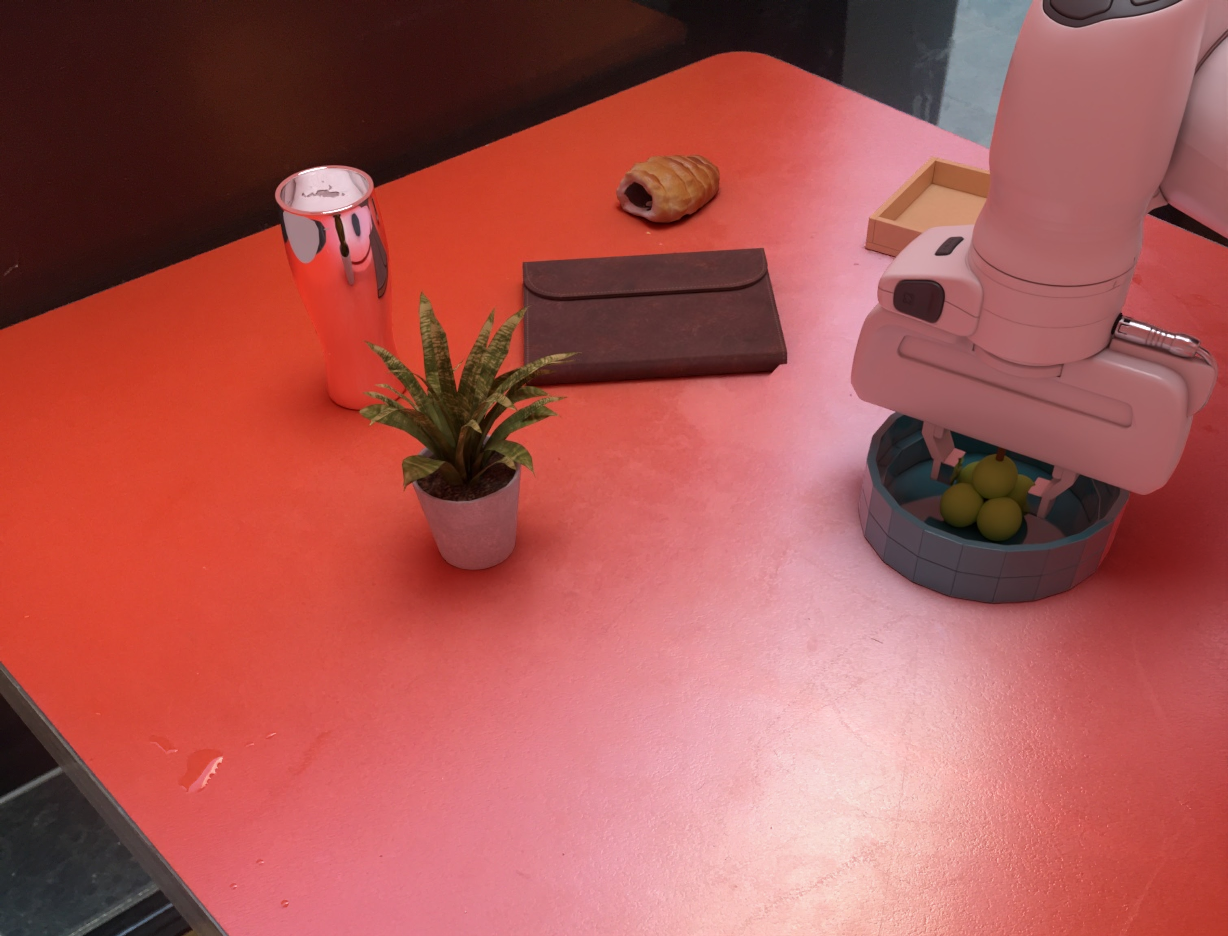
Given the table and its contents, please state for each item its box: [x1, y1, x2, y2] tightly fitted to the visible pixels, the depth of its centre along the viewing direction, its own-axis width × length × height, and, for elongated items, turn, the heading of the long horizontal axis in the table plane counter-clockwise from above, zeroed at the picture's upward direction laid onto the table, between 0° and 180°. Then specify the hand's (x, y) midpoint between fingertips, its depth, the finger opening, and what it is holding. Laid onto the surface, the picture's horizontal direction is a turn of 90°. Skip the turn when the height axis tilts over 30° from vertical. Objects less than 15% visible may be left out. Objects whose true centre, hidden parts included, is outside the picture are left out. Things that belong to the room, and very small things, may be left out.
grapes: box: [939, 447, 1034, 541], centre depth 79 cm, size 5×5×6 cm
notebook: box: [522, 247, 788, 386], centre depth 97 cm, size 15×20×2 cm
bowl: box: [857, 411, 1131, 604], centre depth 80 cm, size 16×16×5 cm
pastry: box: [615, 154, 721, 224], centre depth 107 cm, size 9×7×4 cm
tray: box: [864, 155, 990, 258], centre depth 102 cm, size 15×12×3 cm
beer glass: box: [274, 164, 407, 411], centre depth 88 cm, size 7×7×15 cm
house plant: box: [357, 289, 581, 571], centre depth 75 cm, size 14×14×16 cm
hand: (989, 494), depth 80 cm, fingers closed on grapes, 5 cm apart
